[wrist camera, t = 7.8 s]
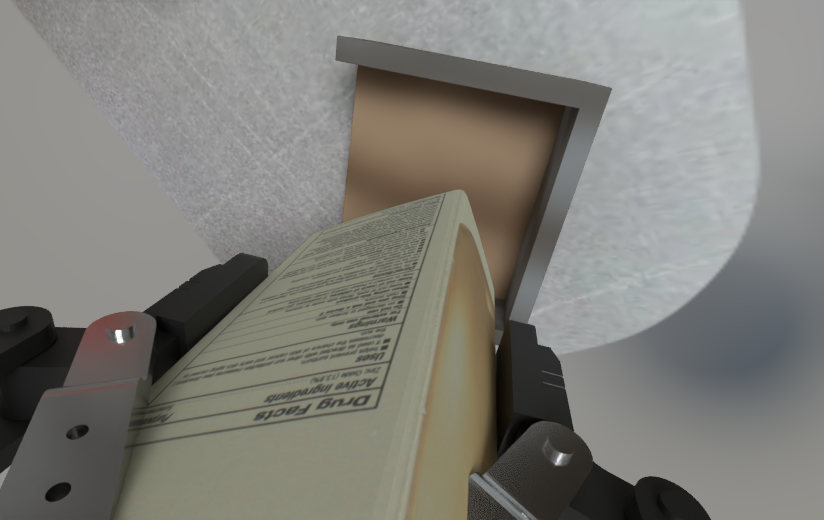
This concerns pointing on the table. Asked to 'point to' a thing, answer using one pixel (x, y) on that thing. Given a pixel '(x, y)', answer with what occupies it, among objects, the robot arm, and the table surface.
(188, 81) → the table surface
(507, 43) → the table surface
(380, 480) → the skincare box
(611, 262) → the table surface
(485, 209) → the open-sided tray
